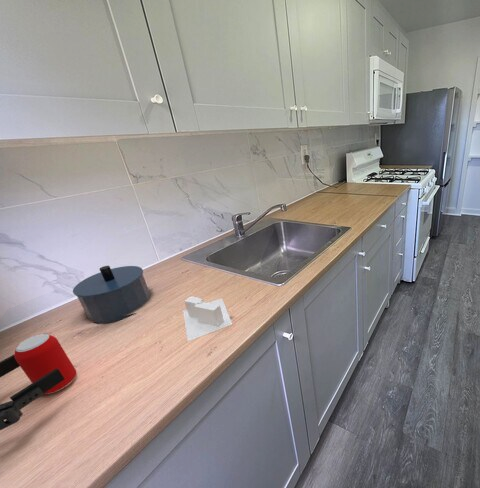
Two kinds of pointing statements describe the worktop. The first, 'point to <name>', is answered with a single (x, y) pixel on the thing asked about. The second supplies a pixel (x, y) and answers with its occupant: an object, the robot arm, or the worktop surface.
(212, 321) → the napkin holder
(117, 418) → the worktop surface
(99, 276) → the pot lid
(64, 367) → the beverage can
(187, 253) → the worktop surface
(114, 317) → the pot
